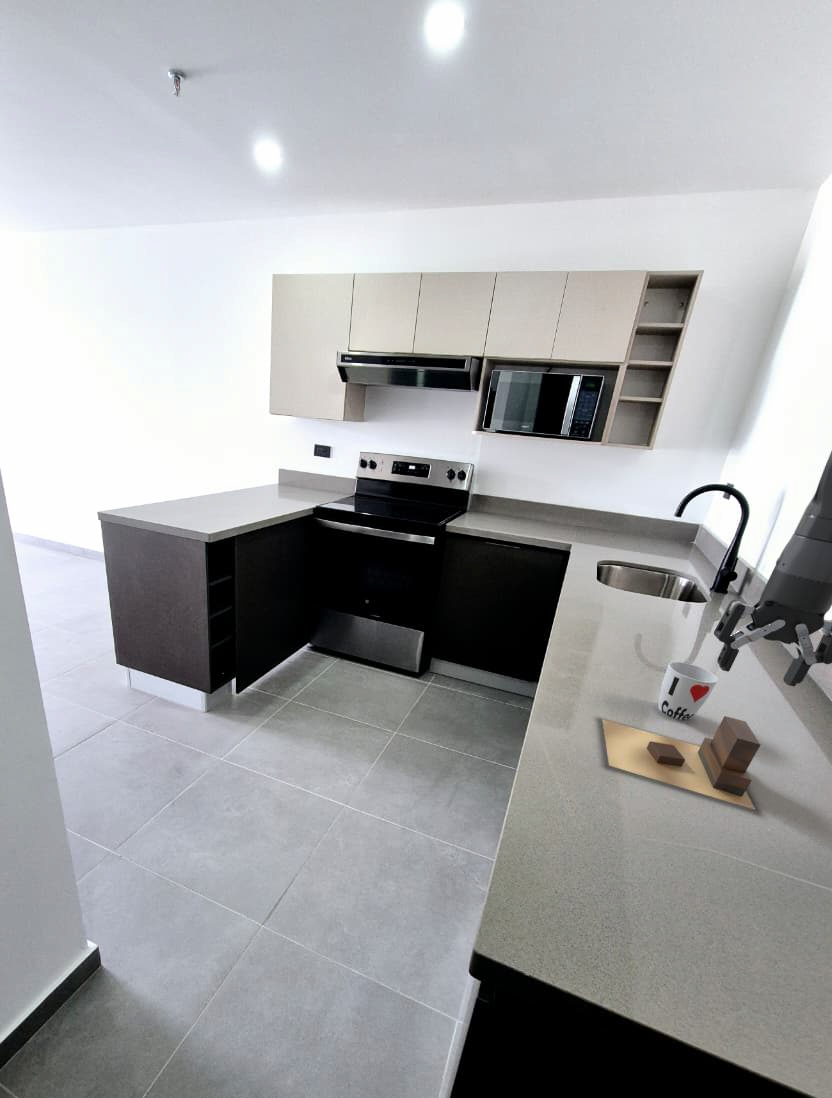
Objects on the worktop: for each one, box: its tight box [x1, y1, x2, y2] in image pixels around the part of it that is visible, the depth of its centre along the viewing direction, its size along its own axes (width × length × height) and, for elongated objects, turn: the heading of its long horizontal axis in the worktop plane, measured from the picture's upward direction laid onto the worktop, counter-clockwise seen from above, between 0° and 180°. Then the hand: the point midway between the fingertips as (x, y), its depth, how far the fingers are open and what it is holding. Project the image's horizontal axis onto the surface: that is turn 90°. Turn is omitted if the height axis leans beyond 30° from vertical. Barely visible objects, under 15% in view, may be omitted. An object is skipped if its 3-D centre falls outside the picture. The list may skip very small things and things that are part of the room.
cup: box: [658, 661, 719, 721], centre depth 96 cm, size 8×8×10 cm
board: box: [602, 719, 756, 811], centre depth 83 cm, size 20×15×1 cm
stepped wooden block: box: [698, 715, 762, 796], centre depth 79 cm, size 4×10×8 cm, turn 159°
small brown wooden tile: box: [647, 741, 685, 767], centre depth 82 cm, size 4×4×2 cm
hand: (755, 676), depth 75 cm, fingers open, 8 cm apart
